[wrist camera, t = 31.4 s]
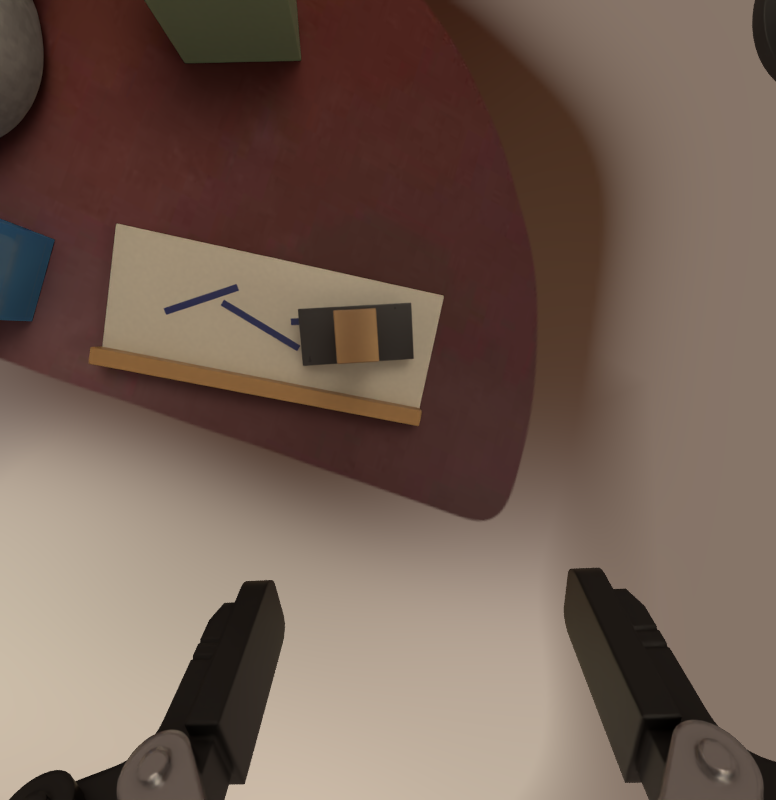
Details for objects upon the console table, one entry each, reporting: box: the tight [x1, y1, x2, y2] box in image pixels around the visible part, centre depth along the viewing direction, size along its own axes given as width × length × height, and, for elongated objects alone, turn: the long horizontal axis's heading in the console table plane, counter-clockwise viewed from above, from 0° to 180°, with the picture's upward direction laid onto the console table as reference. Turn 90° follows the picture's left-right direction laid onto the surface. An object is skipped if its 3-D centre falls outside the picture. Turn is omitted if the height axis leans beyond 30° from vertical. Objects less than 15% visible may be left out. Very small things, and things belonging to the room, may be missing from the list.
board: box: [89, 224, 444, 426], centre depth 32 cm, size 24×10×2 cm, turn 78°
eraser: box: [298, 303, 414, 366], centre depth 28 cm, size 8×4×8 cm, turn 93°
